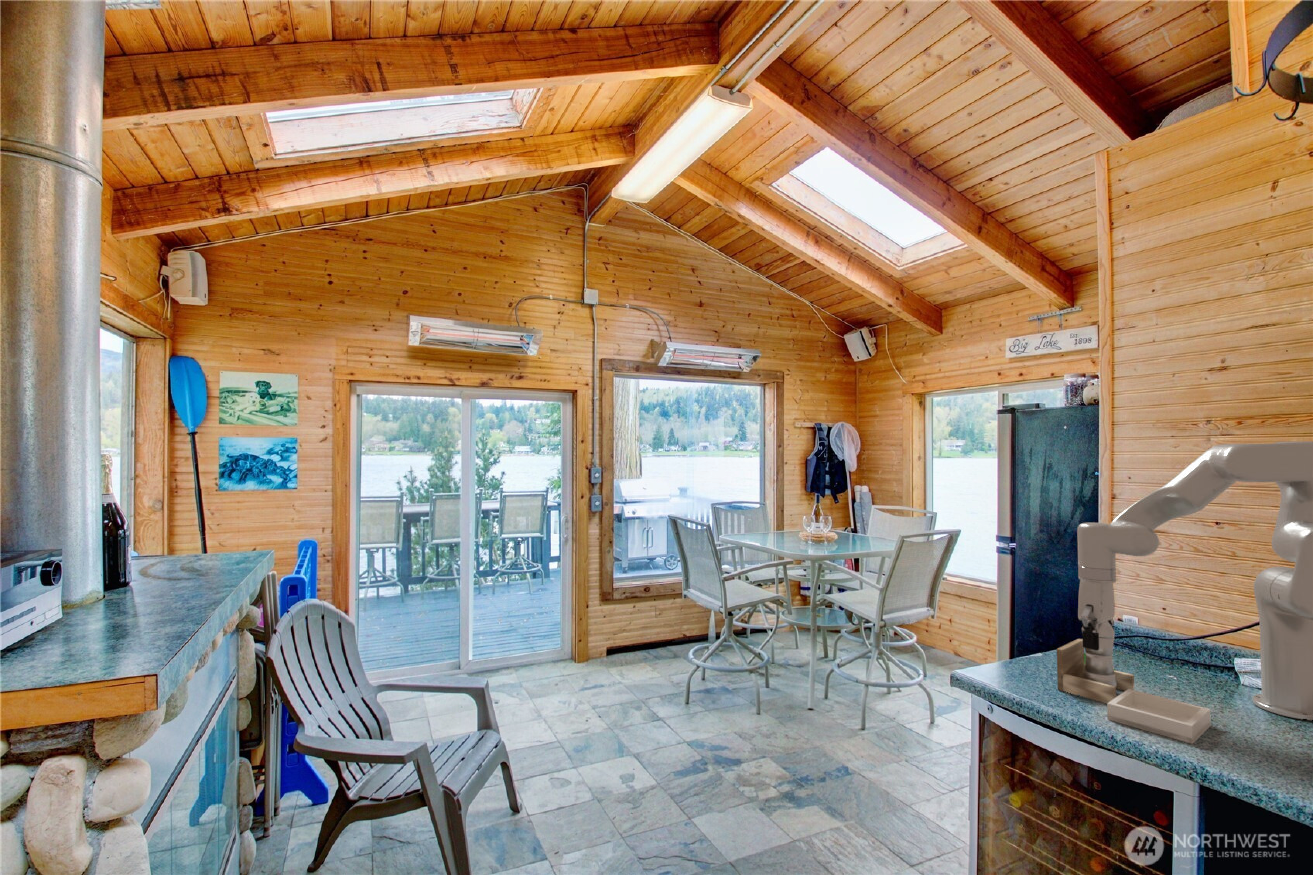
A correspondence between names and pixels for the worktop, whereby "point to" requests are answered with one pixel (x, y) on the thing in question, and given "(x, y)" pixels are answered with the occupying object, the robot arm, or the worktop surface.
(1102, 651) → the plastic bottle
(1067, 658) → the bay
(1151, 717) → the tray
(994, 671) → the worktop surface
